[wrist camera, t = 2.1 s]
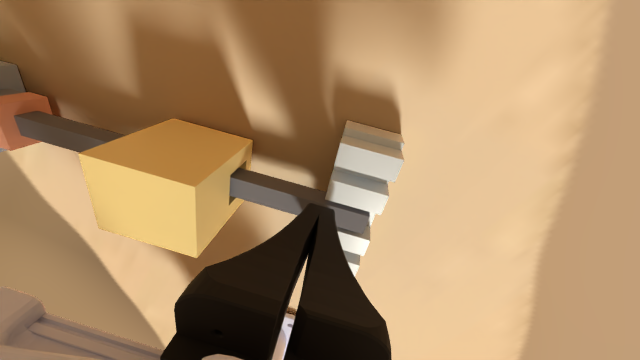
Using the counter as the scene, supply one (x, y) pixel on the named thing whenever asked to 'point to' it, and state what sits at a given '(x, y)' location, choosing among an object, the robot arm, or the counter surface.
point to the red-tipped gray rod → (41, 126)
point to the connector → (10, 81)
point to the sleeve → (166, 184)
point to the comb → (363, 179)
